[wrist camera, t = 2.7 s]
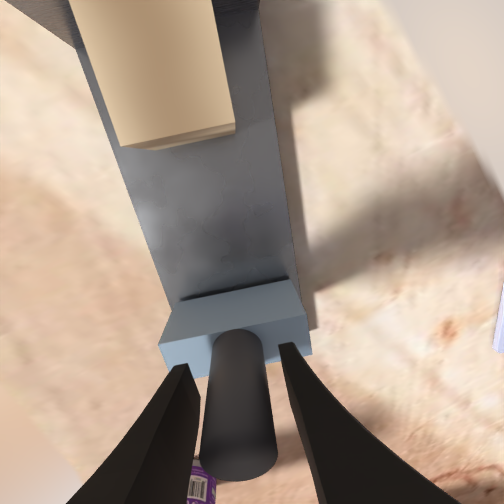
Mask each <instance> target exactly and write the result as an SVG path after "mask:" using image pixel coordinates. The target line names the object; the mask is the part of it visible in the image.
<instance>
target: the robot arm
mask: <svg viewBox="0 0 504 504" xmlns="http://www.w3.org/2000/svg"><path fill="white" fill-rule="evenodd" d="M492 347H493V349H494V350H495V351H496V352H498V353H504V284H503V290H502V295H501V301H500V307H499V312H498V318H497V323H496V329H495V334H494V340H493V345H492ZM278 348H279V353H280V358H281V363H282V368H283V372H284V377H285V382H286V387H287V391H288V396H289V400H290V405H291V408H292V412H293V415H294V418H295V421H296V424H297V428H298V431H299V434H300V437H301V440H302V444H303V447H304V450H305V453H306V456H307V460H308V463H309V466H310V470H311V473H312V477H313V480H314V484H315V489H316V493H317V497H318V501H319V504H461V503H460V502H458V501H457V500H456V499H454V498H453V497H451V496H450V495H448V494H447V493H446V492H444V491H443V490H442V489H440V488H439V487H437V486H436V485H435V484H433V483H432V482H431V481H429V480H428V479H427V478H425V477H424V476H423V475H421V474H420V473H419V472H418V471H416V470H415V469H414V468H412V467H411V466H410V465H409V464H407V463H406V462H405V461H403V460H402V459H401V458H400V457H399V456H397V455H396V454H395V453H394V452H393V451H392V450H390V449H389V448H388V447H387V446H386V445H384V444H383V443H382V442H381V441H380V440H379V439H377V438H376V437H375V436H374V435H373V434H372V433H370V432H369V431H368V430H367V429H366V428H365V427H364V426H363V425H362V424H361V423H360V422H359V421H358V420H357V419H356V418H355V417H353V416H352V415H351V414H350V413H349V412H348V411H347V410H346V409H345V408H344V406H343V405H342V404H341V403H340V402H339V401H338V400H337V399H336V398H335V397H334V396H333V395H332V393H331V392H330V391H329V390H328V389H327V388H326V387H325V385H324V384H323V383H322V382H321V381H320V379H319V378H318V377H317V376H316V374H315V373H314V372H313V371H312V369H311V368H310V367H309V365H308V364H307V362H306V361H305V360H304V358H303V357H302V355H301V353H300V352H299V350H298V348H297V347H296V345H295V343H293V342H287V343H283V344H278ZM200 400H201V397H200V394H199V392H198V389H197V386H196V384H195V381H194V378H193V376H192V373H191V370H190V367H189V365H188V363H184V364H179V365H175V366H173V368H172V369H171V371H170V372H169V373H168V375H167V376H166V378H165V379H164V381H163V382H162V384H161V385H160V387H159V388H158V390H157V391H156V393H155V394H154V396H153V397H152V399H151V400H150V402H149V403H148V405H147V406H146V407H145V409H144V410H143V412H142V413H141V415H140V416H139V417H138V419H137V420H136V422H135V423H134V424H133V426H132V427H131V428H130V430H129V431H128V432H127V434H126V435H125V436H124V438H123V439H122V440H121V441H120V443H119V444H118V445H117V447H116V448H115V449H114V450H113V451H112V453H111V454H110V455H109V456H108V457H107V459H106V460H105V461H104V462H103V463H102V465H101V466H100V467H99V468H98V469H97V470H96V472H95V473H94V474H93V475H92V476H91V477H90V478H89V479H88V480H87V482H86V483H85V484H84V485H83V486H82V487H81V488H80V489H79V490H78V491H77V492H76V493H75V494H74V495H73V497H72V498H71V499H70V500H69V501H68V502H67V503H66V504H186V503H187V496H188V489H189V483H190V477H191V471H192V465H193V459H194V453H195V447H196V441H197V435H198V428H199V419H200Z"/></svg>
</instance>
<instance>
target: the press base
mask: <svg viewBox="0 0 504 504" xmlns="http://www.w3.org/2000/svg"><path fill="white" fill-rule="evenodd" d="M5 1H7V2H8V3H10V4H11V5H12V6H14V7H15V8H17V9H18V10H20V11H21V12H23V13H24V14H25V15H27V16H28V17H30V18H31V19H33V20H34V21H36V22H37V23H38V24H40V25H41V26H43V27H44V28H46V29H47V30H49V31H50V32H52V33H53V34H54V35H56V36H57V37H59V38H60V39H62V40H63V41H65V42H66V43H67V44H69V45H70V46H72V47H73V48H75V49H76V52H77V54H78V57H79V60H80V63H81V65H82V68H83V71H84V73H85V76H86V79H87V82H88V84H89V87H90V90H91V92H92V95H93V98H94V101H95V103H96V106H97V109H98V111H99V114H100V117H101V120H102V122H103V125H104V128H105V131H106V133H107V136H108V139H109V141H110V144H111V147H112V150H113V152H114V155H115V158H116V160H117V163H118V166H119V169H120V171H121V174H122V177H123V180H124V182H125V185H126V188H127V190H128V193H129V196H130V199H131V201H132V204H133V207H134V209H135V212H136V215H137V218H138V220H139V223H140V226H141V228H142V231H143V234H144V237H145V239H146V242H147V245H148V248H149V250H150V253H151V256H152V258H153V261H154V264H155V267H156V269H157V272H158V275H159V277H160V280H161V283H162V286H163V288H164V291H165V294H166V296H167V299H168V302H169V305H170V307H171V310H173V307H174V305H175V303H177V302H182V301H187V300H192V299H197V298H202V297H206V296H211V295H216V294H221V293H226V292H231V291H235V290H240V289H245V288H250V287H255V286H260V285H265V284H269V283H274V282H279V281H284V280H289V279H291V281H292V283H293V285H294V288H295V290H296V292H297V294H298V296H299V298H300V301H301V294H300V287H299V281H298V274H297V267H296V260H295V254H294V247H293V240H292V233H291V227H290V220H289V213H288V206H287V199H286V193H285V186H284V179H283V172H282V166H281V159H280V152H279V145H278V139H277V132H276V125H275V118H274V112H273V105H272V98H271V91H270V84H269V78H268V71H267V64H266V57H265V51H264V44H263V37H262V30H261V24H260V17H259V10H258V8H259V2H260V0H211V2H212V7H213V12H214V17H215V22H216V27H217V32H218V37H219V42H220V47H221V52H222V57H223V63H224V68H225V73H226V78H227V83H228V88H229V93H230V98H231V103H232V108H233V113H234V118H235V134H231V135H226V136H221V137H216V138H212V139H207V140H202V141H198V142H193V143H188V144H184V145H179V146H174V147H170V148H165V149H160V150H147V149H138V148H129V147H121V146H120V143H119V141H118V138H117V135H116V132H115V129H114V126H113V124H112V121H111V118H110V115H109V112H108V110H107V107H106V104H105V101H104V98H103V96H102V93H101V90H100V87H99V84H98V81H97V79H96V76H95V73H94V70H93V67H92V65H91V62H90V59H89V56H88V53H87V51H86V48H85V45H84V42H83V39H82V36H81V34H80V31H79V28H78V25H77V22H76V20H75V17H74V14H73V11H72V8H71V5H70V3H69V0H5ZM301 303H302V301H301Z"/></svg>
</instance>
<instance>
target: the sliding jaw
mask: <svg viewBox="0 0 504 504" xmlns="http://www.w3.org/2000/svg"><path fill="white" fill-rule="evenodd" d="M287 342H293V343H295V345H296V347H297V348H298V350H299V352H300V353H301V355H302V357H303V356H308V355H312V348H311V341H310V334H309V327H308V320H307V314H306V312H305V309H304V307H303V305H302V303H301V301H300V298H299V296H298V294H297V292H296V290H295V288H294V285H293V283H292V281H291V279H289V280H284V281H279V282H274V283H269V284H265V285H260V286H255V287H250V288H245V289H240V290H235V291H231V292H226V293H221V294H216V295H211V296H206V297H202V298H197V299H192V300H187V301H182V302H177V303H175V305H174V307H173V310H172V312H171V315H170V317H169V319H168V322H167V324H166V326H165V329H164V331H163V334H162V336H161V338H160V341H159V343H158V346H159V349H160V351H161V353H162V356H163V358H164V361H165V363H166V365H167V368H168V370H169V372H170V371H171V369H172V368H173V366H175V365H179V364H184V363H188V365H189V367H190V370H191V373H192V376H193V378H194V379H195V378H200V377H205V376H209V380H208V388H207V396H206V404H205V412H204V420H203V428H202V436H201V445H200V453H199V462H200V465H201V467H202V468H203V469H204V471H205V472H207V473H208V474H209V475H211V476H213V477H215V478H217V479H220V480H225V481H246V480H250V479H254V478H257V477H259V476H261V475H263V474H264V473H266V472H267V471H269V470H270V469H271V468H272V467H273V465H274V464H275V462H276V460H277V457H278V450H277V443H276V436H275V429H274V422H273V415H272V409H271V402H270V395H269V388H268V381H267V374H266V367H265V364H269V363H274V362H279V361H281V358H280V353H279V348H278V344H283V343H287Z"/></svg>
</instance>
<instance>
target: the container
mask: <svg viewBox="0 0 504 504" xmlns="http://www.w3.org/2000/svg"><path fill="white" fill-rule="evenodd" d="M216 480H217V478H215V477H213V476H211V475H209V474H208V473H207V472H205V471H204V469H203V468H202V467H201V465H200V462H199V460H197V459H193V465H192V471H191V477H190V483H189V489H188V496H187V503H186V504H215V499H216Z"/></svg>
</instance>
